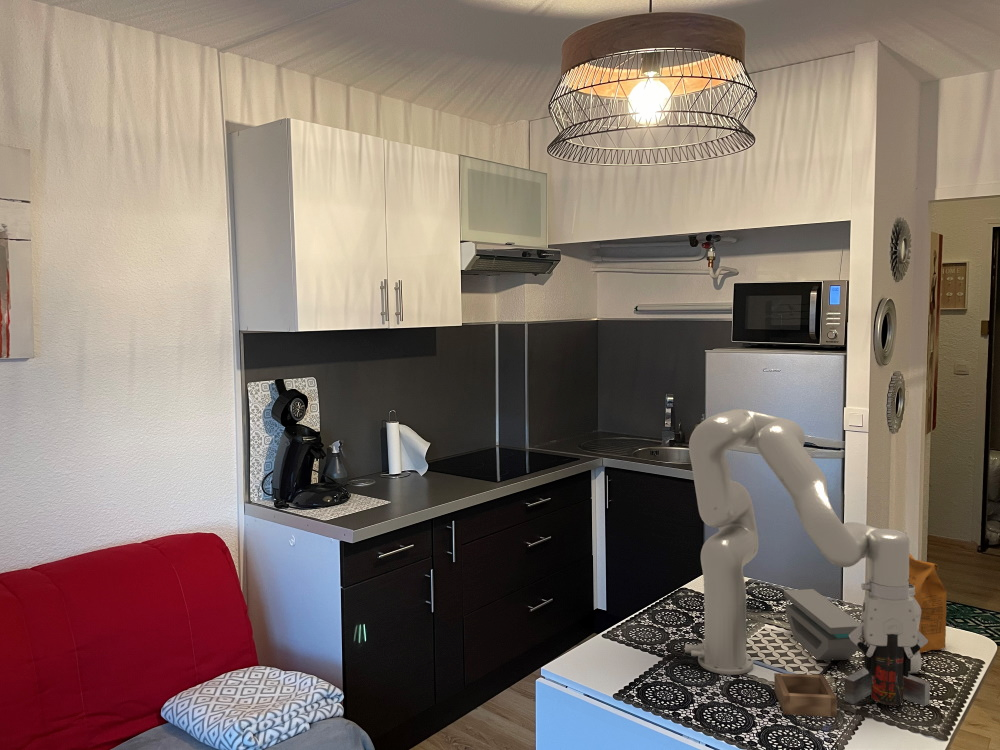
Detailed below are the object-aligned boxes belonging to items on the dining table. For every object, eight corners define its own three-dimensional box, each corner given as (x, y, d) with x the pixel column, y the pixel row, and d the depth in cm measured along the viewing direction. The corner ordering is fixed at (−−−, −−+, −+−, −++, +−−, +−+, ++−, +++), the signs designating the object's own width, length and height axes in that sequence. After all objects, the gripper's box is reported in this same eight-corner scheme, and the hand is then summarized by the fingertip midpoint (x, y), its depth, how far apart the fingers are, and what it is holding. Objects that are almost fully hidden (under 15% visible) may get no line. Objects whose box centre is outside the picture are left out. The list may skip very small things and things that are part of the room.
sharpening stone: (863, 672, 182) (863, 626, 181) (830, 674, 182) (830, 627, 181) (812, 629, 207) (813, 589, 206) (783, 631, 207) (783, 590, 206)
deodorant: (865, 692, 169) (866, 624, 168) (892, 691, 170) (893, 622, 169) (881, 706, 164) (882, 635, 162) (908, 704, 164) (910, 634, 163)
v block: (846, 704, 168) (846, 681, 167) (831, 679, 179) (832, 658, 178) (932, 708, 165) (932, 684, 165) (912, 682, 176) (912, 661, 176)
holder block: (783, 714, 164) (783, 695, 164) (774, 690, 174) (774, 673, 174) (836, 716, 162) (836, 697, 162) (824, 692, 173) (824, 675, 172)
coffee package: (919, 632, 203) (920, 548, 202) (952, 652, 191) (953, 563, 189) (883, 635, 202) (883, 550, 201) (913, 655, 190) (914, 565, 188)
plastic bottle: (925, 678, 178) (926, 591, 177) (893, 676, 180) (893, 590, 178) (916, 665, 185) (917, 581, 183) (885, 663, 186) (885, 580, 185)
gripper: (849, 594, 163) (849, 679, 164) (940, 597, 160) (938, 683, 161) (840, 582, 170) (839, 664, 171) (925, 584, 167) (924, 667, 169)
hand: (887, 672), depth 166 cm, fingers closed on deodorant, 5 cm apart
